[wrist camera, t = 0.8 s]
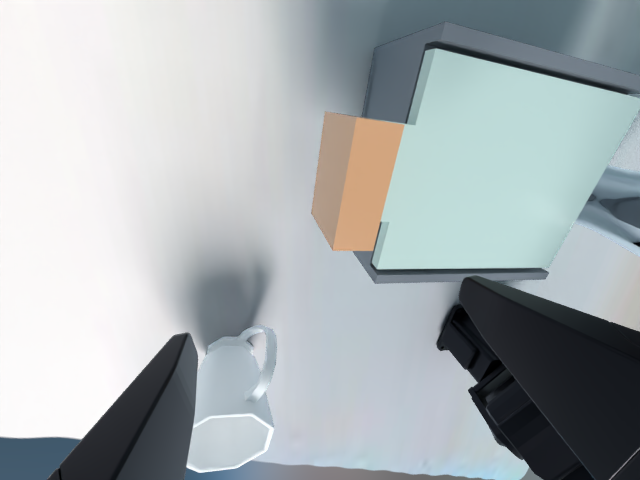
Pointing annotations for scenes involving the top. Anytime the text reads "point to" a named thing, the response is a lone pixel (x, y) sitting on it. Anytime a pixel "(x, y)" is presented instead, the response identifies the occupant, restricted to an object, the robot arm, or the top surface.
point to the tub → (408, 53)
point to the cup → (232, 403)
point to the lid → (468, 167)
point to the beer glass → (615, 208)
